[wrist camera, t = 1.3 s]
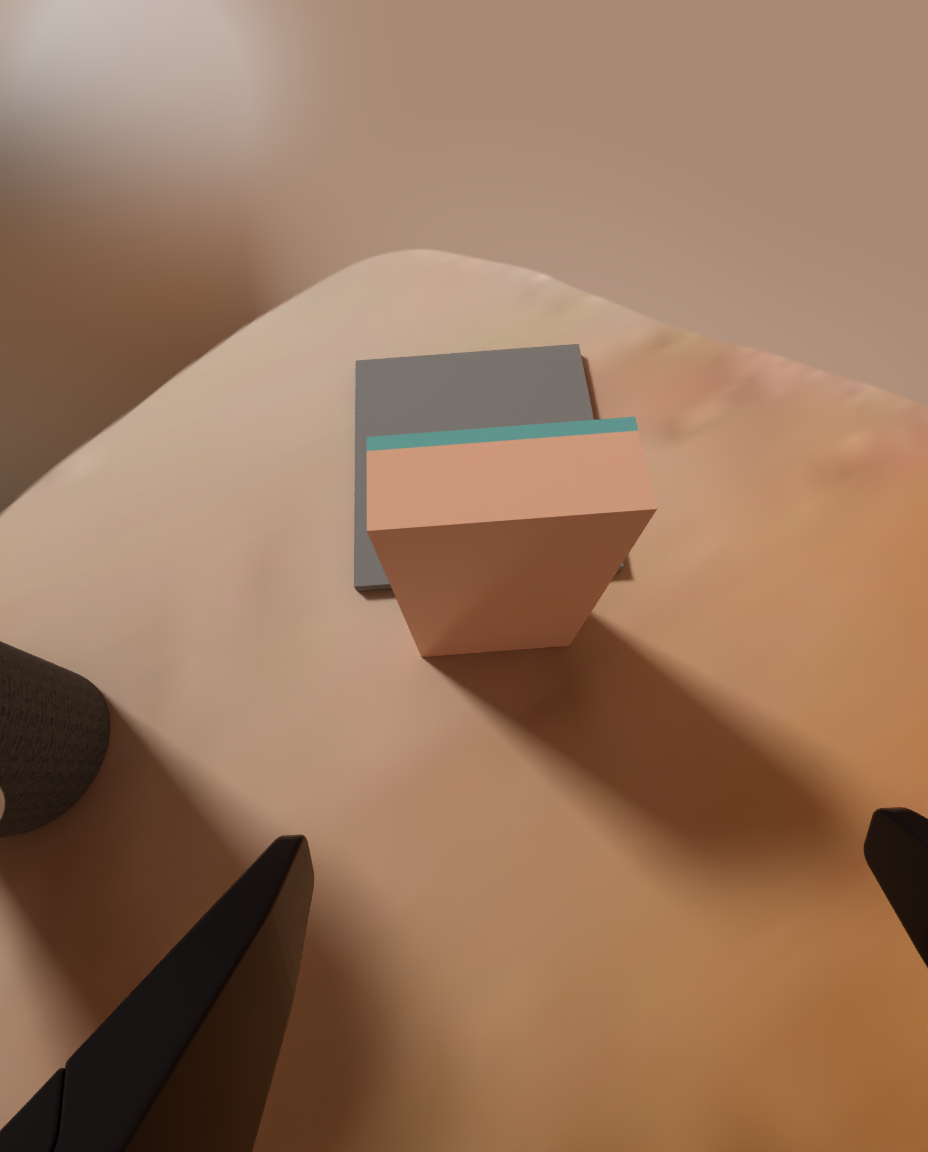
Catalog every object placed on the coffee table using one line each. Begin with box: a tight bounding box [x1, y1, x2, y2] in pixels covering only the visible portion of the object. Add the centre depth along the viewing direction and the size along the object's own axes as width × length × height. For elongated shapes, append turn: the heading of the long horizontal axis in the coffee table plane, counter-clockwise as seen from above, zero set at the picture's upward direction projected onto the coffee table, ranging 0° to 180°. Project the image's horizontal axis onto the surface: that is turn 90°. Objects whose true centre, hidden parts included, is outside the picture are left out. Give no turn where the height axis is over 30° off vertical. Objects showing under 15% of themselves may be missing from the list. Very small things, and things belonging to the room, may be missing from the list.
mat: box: [354, 344, 624, 591], centre depth 26 cm, size 13×12×1 cm
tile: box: [367, 417, 657, 657], centre depth 18 cm, size 2×6×12 cm, turn 94°
